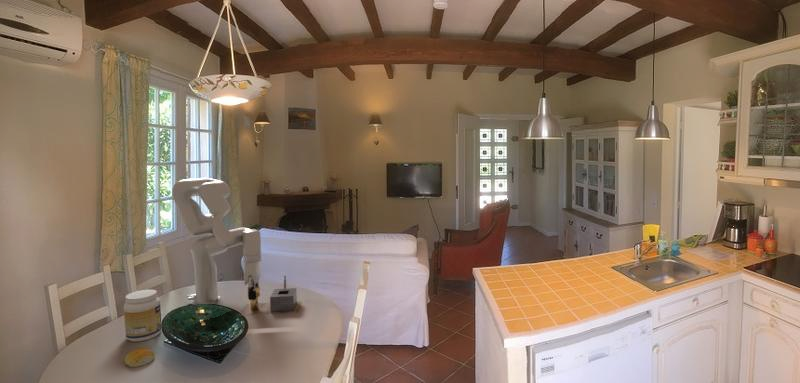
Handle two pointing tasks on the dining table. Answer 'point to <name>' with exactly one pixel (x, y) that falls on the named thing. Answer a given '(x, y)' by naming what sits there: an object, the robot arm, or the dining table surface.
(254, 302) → the brass pin
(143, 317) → the supplement tub
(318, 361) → the dining table surface
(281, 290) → the hitch block
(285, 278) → the tow hook
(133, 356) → the bread roll
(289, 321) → the dining table surface
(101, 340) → the dining table surface
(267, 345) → the dining table surface
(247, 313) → the mount plate
